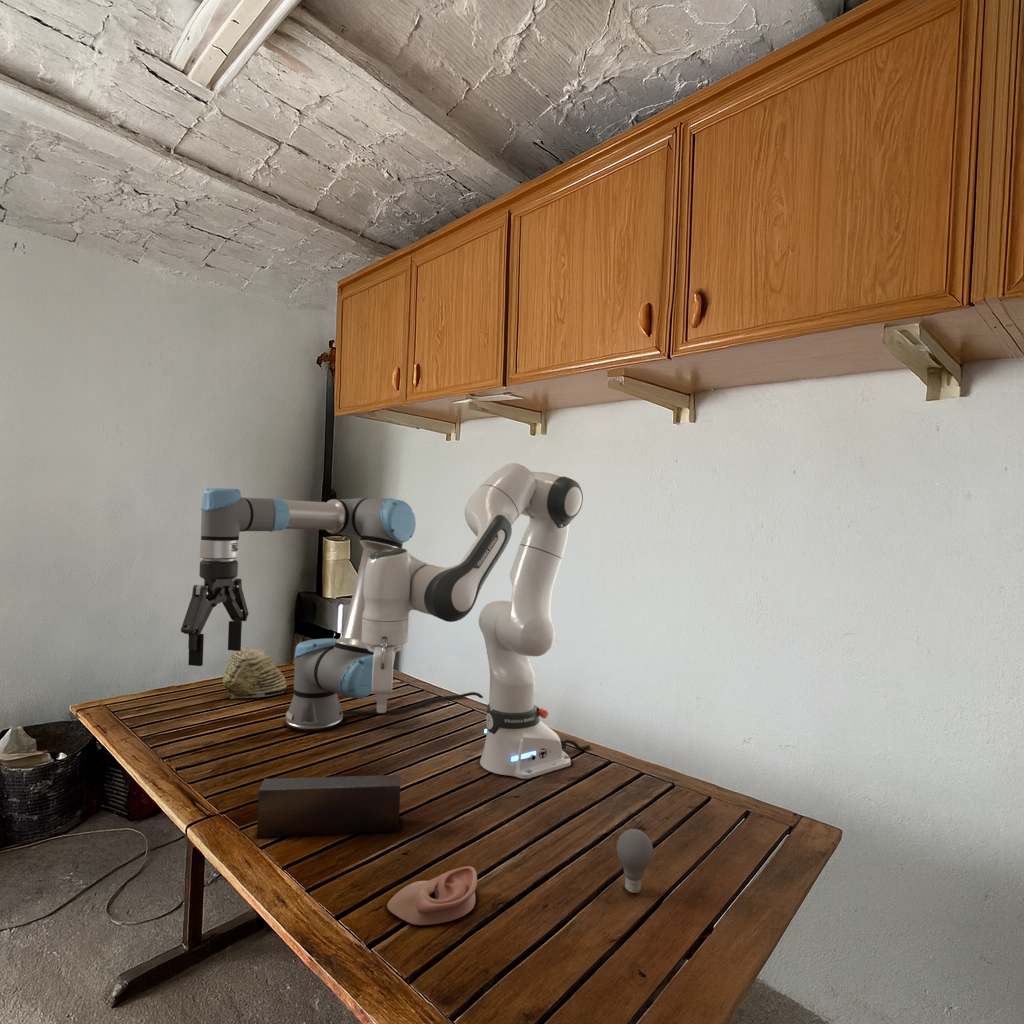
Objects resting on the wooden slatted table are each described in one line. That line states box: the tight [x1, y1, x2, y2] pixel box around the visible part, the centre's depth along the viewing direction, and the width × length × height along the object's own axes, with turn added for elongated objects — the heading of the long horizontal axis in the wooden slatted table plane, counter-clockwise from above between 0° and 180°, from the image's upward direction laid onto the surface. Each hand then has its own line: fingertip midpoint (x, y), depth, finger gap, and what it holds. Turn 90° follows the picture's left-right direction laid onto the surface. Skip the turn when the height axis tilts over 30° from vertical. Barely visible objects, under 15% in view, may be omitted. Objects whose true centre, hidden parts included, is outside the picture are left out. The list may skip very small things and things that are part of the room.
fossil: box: [222, 646, 288, 699], centre depth 198 cm, size 9×18×15 cm, turn 132°
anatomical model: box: [386, 865, 478, 926], centre depth 100 cm, size 13×4×12 cm
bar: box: [256, 774, 402, 839], centre depth 121 cm, size 26×5×9 cm, turn 100°
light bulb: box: [615, 828, 654, 894], centre depth 106 cm, size 6×6×10 cm
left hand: (215, 657), depth 137 cm, fingers open, 13 cm apart
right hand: (382, 703), depth 123 cm, fingers open, 8 cm apart
